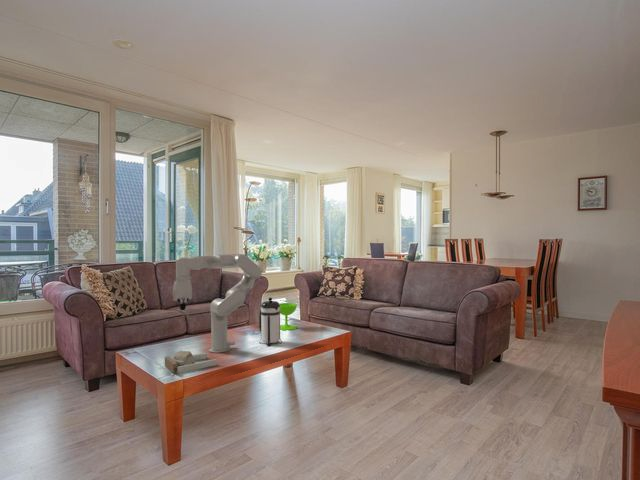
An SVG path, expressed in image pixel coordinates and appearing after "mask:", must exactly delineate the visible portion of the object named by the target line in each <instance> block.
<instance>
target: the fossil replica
mask: <svg viewBox="0 0 640 480" xmlns="http://www.w3.org/2000/svg"><path fill="white" fill-rule="evenodd" d="M193 355H194V354H193V353H192V352H191V351H189V350H180V351H176V352H175V353H174V354H173V358H172V359H173V360H174V361H175V362H176V363H177V367H179V366H184V365H189V364H194V363H196V360H195V357H194V356H193Z"/></svg>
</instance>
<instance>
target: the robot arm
mask: <svg viewBox="0 0 640 480" xmlns="http://www.w3.org/2000/svg"><path fill="white" fill-rule="evenodd" d="M233 268H240V270H242V271H243V272H242V273H243V275H242V278H241V280H240V281H239V282H238V283H237V284H235V285H234V286H233V287H231V288H230V289H228V290H227V291H226V293H225V298H224V299H223V298H215V299H212V301H211V303H210V308H209V311H210V320H211V323H210V324H211V325H210V326H211V329H210V331H211V332H210V333H211V334H210V335H211V337H210V338H211V339H210V340H211V347H209V348H208V352H210V353H213V354H216V353H218V354H219V353H225V352H228V351H230V350H231V346H234V345H236V342H235V341H228V316H229V315H230V314H232V313H233V312H235V311H236V310H237V309H238V308H239V307H240V306H242V305H243V304H244V302H245V301H246V298H247V297H246V294H247V293H249V292H250V291H251V290H252V289H253V287H254V285H255V280H258V279H260V278H261V277H262V275H263V274H262V273H263V271H262V268H261V267H260V266H259V265H258V264H257V263H256V262H254V261H253V259H251V258H250V257H249V256H247V255H246V254H241V253H229V254H216V255H215V254H213V255H203V256H200V255H197V256H192V257H191V256H190V257H189V258H188V257H178V258H176V259H175V281H174V283H173V287H172V297H173V298H172V301H175V302H178V303H179V309H180V311H185V310H186V308H187V302H188V301H189V300H192V299H193V285H192V281H191V279H193V276H191V275H190V273H191V271H190V270H195V271H197V270H198V271H200V270H202V269H216V270H217V269H219V270H221V269H233Z"/></svg>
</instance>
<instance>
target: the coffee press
mask: <svg viewBox="0 0 640 480" xmlns="http://www.w3.org/2000/svg"><path fill="white" fill-rule="evenodd" d="M258 314H259V315H258V318H259V319H258V325H259V331H260V340H259V344H262V343H265V344H267V347H270V346H271V344H274V343H279V344H282V343H283V341H282V340H281V331H280V325H281V314H280V302H279V301H276V300H273V298H272V297H269V298H268V300H266V301H263V302H261V305H260V310H259V313H258Z"/></svg>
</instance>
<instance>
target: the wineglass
mask: <svg viewBox="0 0 640 480" xmlns="http://www.w3.org/2000/svg"><path fill="white" fill-rule="evenodd" d="M279 304H280V315H283V316H284V324H280V330H282V332H283V331H285V332H286V330H290V331H295V330H297V329H296V328H298V327H297V326H296V325H294V324H288V322H289V319H288V317H289V316H291V315H292V314H293V313H294V312H296V309H297V304H296V303H292V302H283V303H280V302H279ZM294 329H295V330H294Z"/></svg>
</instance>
